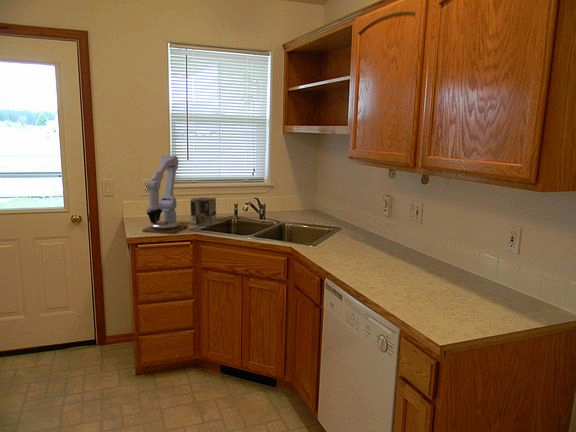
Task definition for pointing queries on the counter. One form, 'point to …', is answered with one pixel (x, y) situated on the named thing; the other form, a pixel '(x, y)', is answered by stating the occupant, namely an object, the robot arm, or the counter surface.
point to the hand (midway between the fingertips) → (155, 221)
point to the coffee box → (203, 213)
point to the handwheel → (164, 224)
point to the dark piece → (193, 207)
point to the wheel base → (166, 231)
